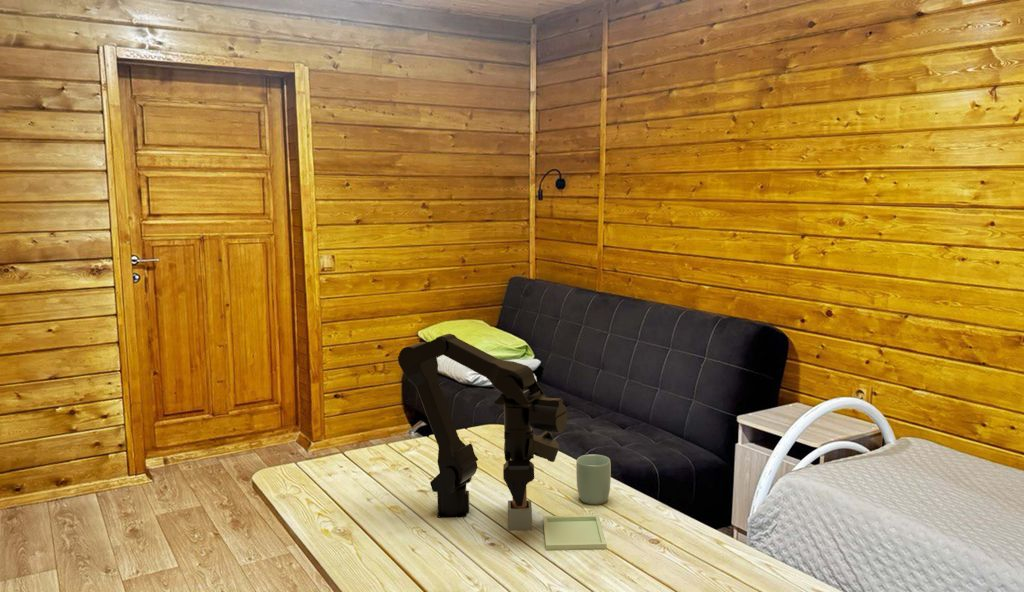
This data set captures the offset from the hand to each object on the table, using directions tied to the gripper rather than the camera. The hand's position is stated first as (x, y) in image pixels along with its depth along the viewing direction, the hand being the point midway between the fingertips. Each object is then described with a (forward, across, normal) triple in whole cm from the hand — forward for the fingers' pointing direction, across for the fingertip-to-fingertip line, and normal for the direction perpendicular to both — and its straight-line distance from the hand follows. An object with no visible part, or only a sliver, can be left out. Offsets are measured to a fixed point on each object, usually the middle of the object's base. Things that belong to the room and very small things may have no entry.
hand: (519, 497), depth 167 cm
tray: (+7, -5, -11) cm, 14 cm away
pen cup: (+7, 0, 0) cm, 7 cm away
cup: (+7, +13, -17) cm, 23 cm away
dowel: (+6, 0, 0) cm, 6 cm away
